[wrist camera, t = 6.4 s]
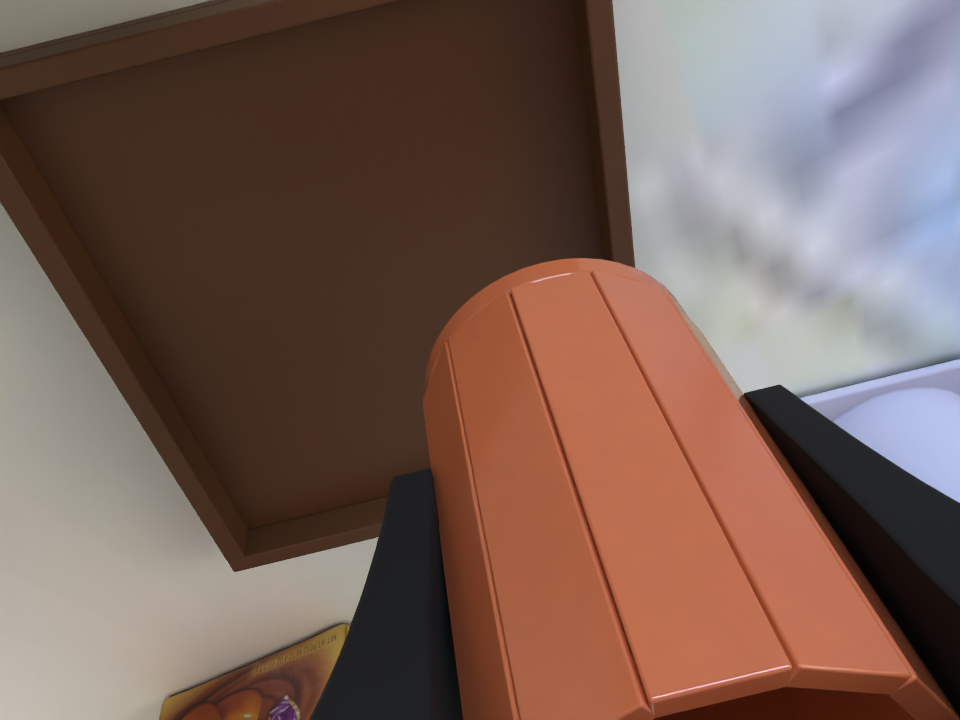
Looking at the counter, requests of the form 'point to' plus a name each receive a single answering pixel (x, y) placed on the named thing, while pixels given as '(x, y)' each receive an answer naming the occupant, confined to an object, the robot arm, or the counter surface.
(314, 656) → the candy box
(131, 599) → the counter surface
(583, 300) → the cup
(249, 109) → the tray
